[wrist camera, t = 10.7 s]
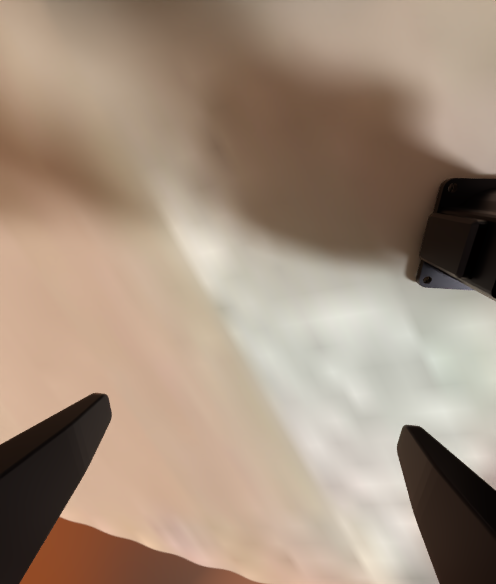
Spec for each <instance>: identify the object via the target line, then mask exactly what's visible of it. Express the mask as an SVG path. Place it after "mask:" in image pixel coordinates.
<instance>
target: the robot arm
mask: <svg viewBox="0 0 496 584" xmlns="http://www.w3.org/2000/svg"><path fill="white" fill-rule="evenodd" d="M450 184H453V185H454V188H453V190H452V191H451V192H449V191H448V187H449V185H450ZM419 256H420V258H421V262H420V265H419V269H418V273H417V277H416V281H417V283H418V284H419V285H421V286H422V287H427V288H444V289H462V290H476V291H478V292H479V293H481V294H483V295H485V296H487V297H489V298H491V299H492V300H494V301H496V179H468V178H451V179H447V180H445V181H444V182H443V183H442V184H441V186H440V188H439V192H438V196H437V200H436V204H435V208H434V211H433V214H432V215H430V216H429V219H428V223H427V227H426V231H425V234H424V238H423V242H422V246H421V250H420V254H419ZM427 276H429V279H428V280H427V281H426V282H423V279H424V278H425V277H427ZM111 417H112V412H111V408H110V403H109V398H108V396H107V395H106V394H101V393H93V394H91V395H89V396H87V397H85V398H84V399H82V400H80V401H78V402H76V403H75V404H73V405H71V406H69V407H67V408H66V409H64V410H62V411H60V412H58V413H57V414H55V415H53V416H51V417H49V418H47V419H46V420H44V421H42V422H40V423H38V424H37V425H35V426H33V427H31V428H29V429H28V430H26V431H24V432H22V433H20V434H19V435H17V436H15V437H13V438H11V439H10V440H8V441H6V442H4V443H2V444H1V445H0V584H19V583H20V581H21V580H22V578H23V576H24V575H25V573H26V571H27V570H28V568H29V566H30V565H31V563H32V561H33V559H34V558H35V556H36V555H37V553H38V551H39V550H40V548H41V546H42V545H43V543H44V541H45V540H46V538H47V536H48V535H49V533H50V531H51V530H52V528H53V526H54V524H55V523H56V521H57V519H58V518H59V516H60V514H61V513H62V511H63V509H64V508H65V506H66V504H67V503H68V501H69V499H70V498H71V496H72V494H73V493H74V491H75V489H76V488H77V486H78V484H79V483H80V481H81V479H82V477H83V476H84V474H85V472H86V470H87V468H88V466H89V465H90V463H91V460H92V458H93V456H94V454H95V452H96V450H97V448H98V446H99V444H100V442H101V440H102V438H103V436H104V434H105V431H106V429H107V427H108V425H109V423H110V421H111ZM397 453H398V457H399V461H400V465H401V468H402V472H403V476H404V479H405V483H406V487H407V491H408V494H409V498H410V502H411V505H412V509H413V512H414V515H415V518H416V521H417V524H418V527H419V529H420V532H421V535H422V538H423V540H424V543H425V546H426V548H427V551H428V554H429V556H430V559H431V562H432V564H433V567H434V570H435V573H436V575H437V578H438V581H439V583H440V584H496V490H494V489H493V488H492V487H491V486H490V485H489V484H487V483H486V482H485V481H484V480H483V479H482V478H480V477H479V476H478V475H477V474H476V473H475V472H473V471H472V470H471V469H470V468H469V467H467V466H466V465H465V464H464V463H463V462H462V461H460V460H459V459H458V458H457V457H456V456H455V455H453V454H452V453H451V452H450V451H449V450H447V449H446V448H445V447H444V446H443V445H442V444H440V443H439V442H438V441H437V440H436V439H435V438H433V437H432V436H431V435H430V434H429V433H428V432H426V431H425V430H424V429H423V428H421V427H420V426H414V425H404V426H403V428H402V431H401V434H400V437H399V441H398V444H397Z"/></svg>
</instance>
